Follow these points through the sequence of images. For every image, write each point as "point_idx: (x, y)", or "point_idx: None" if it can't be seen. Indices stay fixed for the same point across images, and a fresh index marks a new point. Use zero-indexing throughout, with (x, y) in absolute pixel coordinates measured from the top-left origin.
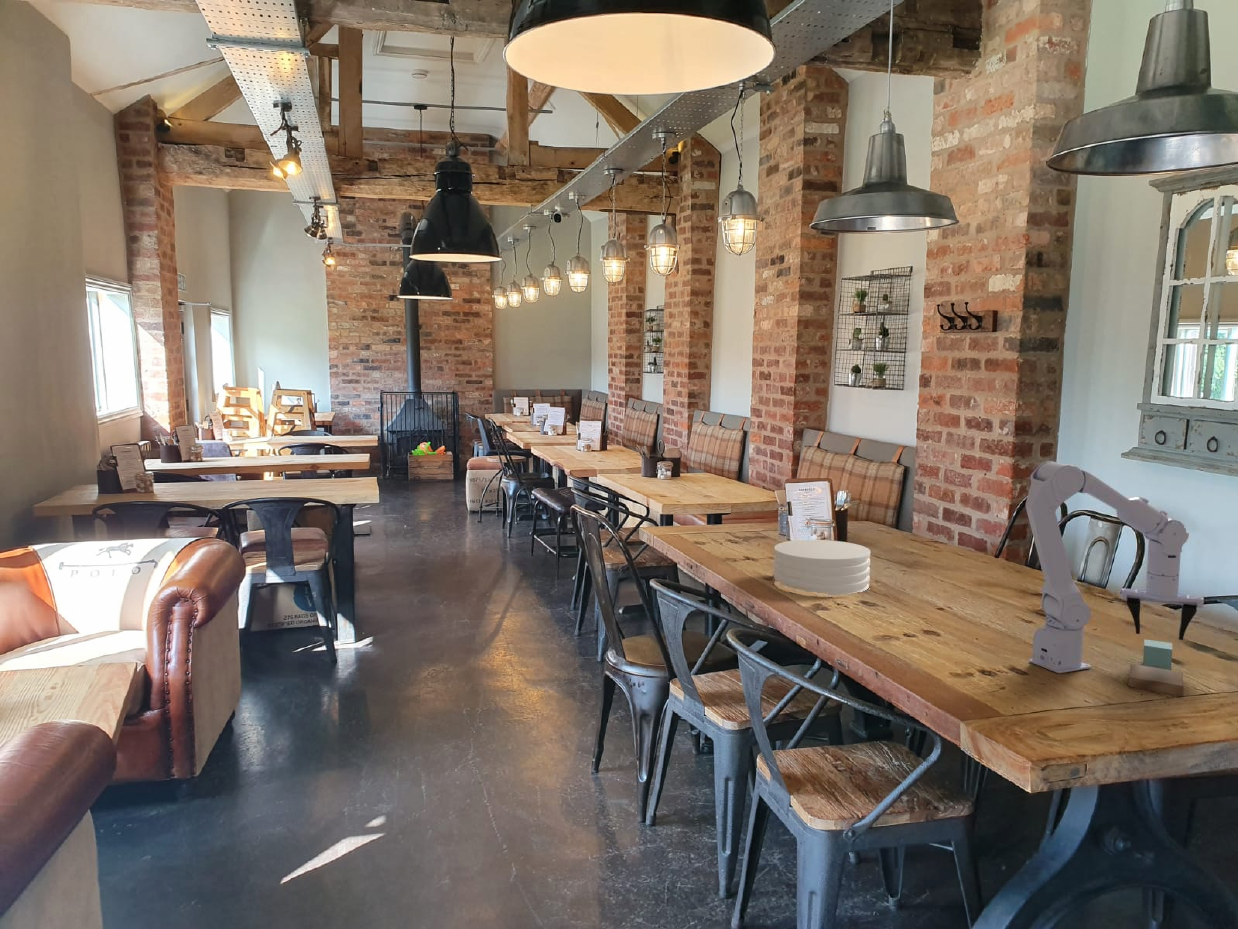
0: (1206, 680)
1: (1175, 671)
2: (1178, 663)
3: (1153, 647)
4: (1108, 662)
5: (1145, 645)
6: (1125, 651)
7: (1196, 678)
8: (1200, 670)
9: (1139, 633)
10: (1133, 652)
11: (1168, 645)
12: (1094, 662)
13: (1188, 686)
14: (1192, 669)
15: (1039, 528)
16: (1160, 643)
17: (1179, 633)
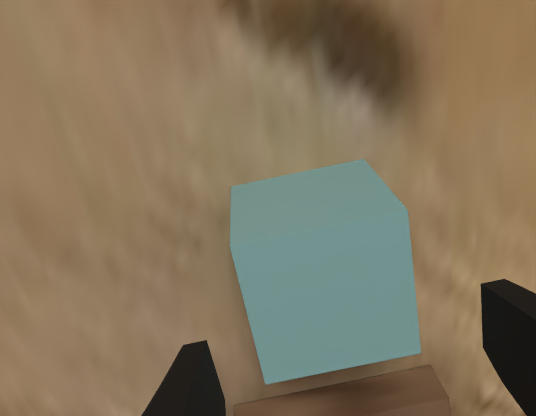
0: (523, 276)
1: (421, 410)
2: (395, 85)
3: (317, 371)
4: (109, 331)
5: (272, 379)
6: (91, 59)
7: (484, 279)
8: (503, 135)
9: (224, 408)
10: (135, 43)
11: (392, 283)
12: (63, 374)
13: (455, 398)
14: (466, 148)
15: None
16: (340, 271)
17: (507, 368)
